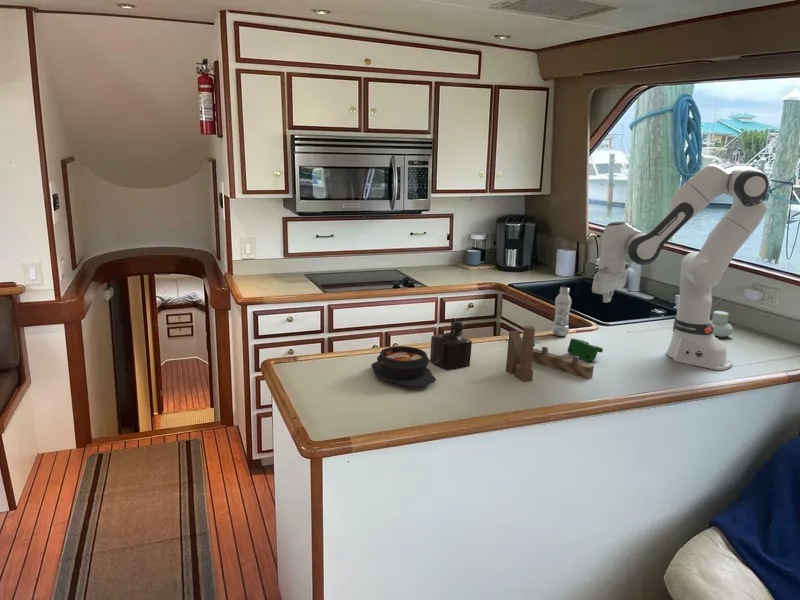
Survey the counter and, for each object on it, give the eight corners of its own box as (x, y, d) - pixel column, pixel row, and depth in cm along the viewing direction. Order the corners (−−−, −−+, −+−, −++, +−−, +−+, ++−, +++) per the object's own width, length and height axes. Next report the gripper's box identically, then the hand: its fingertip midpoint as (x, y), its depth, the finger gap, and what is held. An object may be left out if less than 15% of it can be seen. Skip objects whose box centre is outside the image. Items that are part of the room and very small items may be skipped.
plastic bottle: (559, 338, 252) (564, 290, 248) (548, 333, 258) (553, 286, 253) (571, 337, 255) (577, 289, 250) (560, 332, 261) (565, 285, 256)
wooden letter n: (514, 369, 216) (518, 319, 211) (532, 381, 206) (538, 328, 202) (505, 371, 214) (509, 320, 210) (523, 382, 205) (528, 329, 200)
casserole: (357, 370, 209) (358, 346, 207) (403, 361, 220) (404, 338, 218) (401, 396, 190) (402, 370, 187) (449, 385, 200) (450, 360, 198)
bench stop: (592, 377, 212) (594, 360, 210) (588, 379, 210) (590, 362, 208) (531, 358, 228) (532, 342, 227) (526, 360, 226) (528, 344, 224)
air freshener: (700, 331, 272) (704, 309, 269) (718, 331, 272) (722, 309, 270) (715, 339, 261) (719, 316, 259) (734, 339, 262) (738, 316, 259)
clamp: (593, 370, 231) (607, 352, 227) (582, 369, 228) (596, 350, 224) (575, 349, 240) (588, 331, 236) (564, 347, 236) (577, 329, 232)
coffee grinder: (427, 361, 220) (430, 312, 216) (453, 357, 226) (456, 308, 221) (453, 376, 207) (456, 324, 203) (480, 371, 213) (484, 320, 209)
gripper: (606, 270, 223) (601, 308, 227) (631, 264, 237) (626, 299, 241) (589, 267, 227) (585, 304, 231) (615, 261, 242) (611, 296, 245)
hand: (606, 301), depth 236 cm, fingers closed
